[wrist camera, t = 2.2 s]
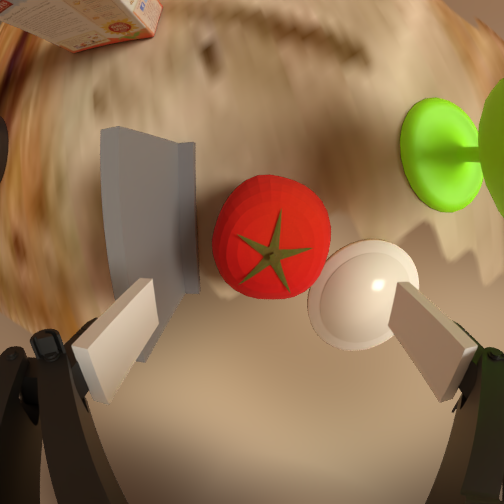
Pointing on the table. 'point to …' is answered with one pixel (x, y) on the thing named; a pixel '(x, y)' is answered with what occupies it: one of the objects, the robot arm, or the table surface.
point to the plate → (358, 293)
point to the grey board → (150, 218)
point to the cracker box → (83, 20)
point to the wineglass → (454, 152)
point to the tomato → (271, 238)
